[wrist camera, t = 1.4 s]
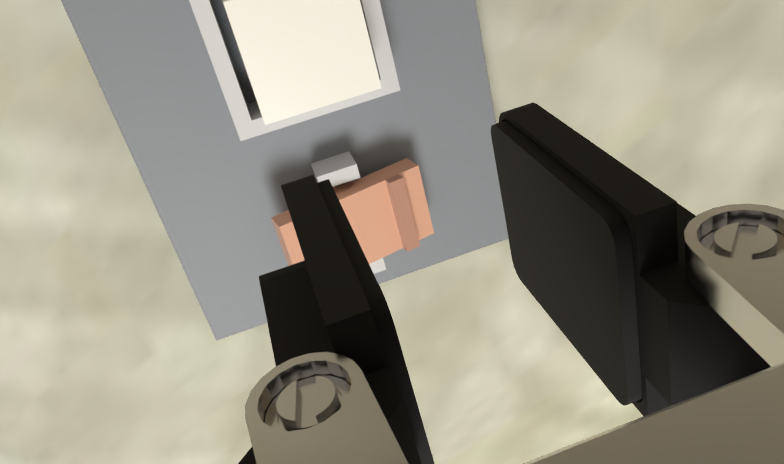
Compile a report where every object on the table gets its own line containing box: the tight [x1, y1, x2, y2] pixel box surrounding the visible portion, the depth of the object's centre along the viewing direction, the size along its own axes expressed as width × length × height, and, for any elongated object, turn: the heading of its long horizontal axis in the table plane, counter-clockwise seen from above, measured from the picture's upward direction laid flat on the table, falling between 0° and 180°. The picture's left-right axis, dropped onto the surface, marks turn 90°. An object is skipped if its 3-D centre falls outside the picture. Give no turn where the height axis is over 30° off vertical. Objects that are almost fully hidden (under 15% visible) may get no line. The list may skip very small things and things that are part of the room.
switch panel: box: [61, 0, 509, 340], centre depth 26 cm, size 24×14×4 cm, turn 13°
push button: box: [222, 0, 381, 125], centre depth 24 cm, size 4×4×2 cm
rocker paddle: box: [271, 158, 434, 266], centre depth 29 cm, size 3×6×2 cm, turn 103°
